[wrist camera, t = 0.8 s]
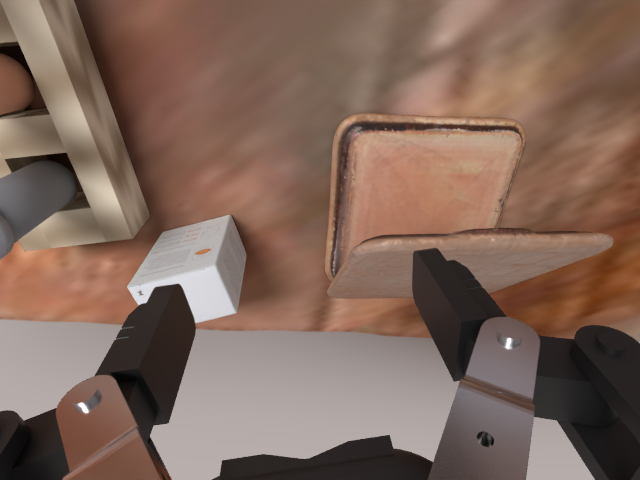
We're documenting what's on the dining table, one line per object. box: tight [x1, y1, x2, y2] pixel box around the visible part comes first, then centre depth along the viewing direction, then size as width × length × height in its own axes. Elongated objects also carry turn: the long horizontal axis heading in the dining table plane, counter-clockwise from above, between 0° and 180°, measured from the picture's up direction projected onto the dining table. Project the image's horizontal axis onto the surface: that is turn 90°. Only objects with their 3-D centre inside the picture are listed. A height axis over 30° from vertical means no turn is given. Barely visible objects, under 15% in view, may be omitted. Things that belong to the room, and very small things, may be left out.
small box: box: [127, 215, 247, 323], centre depth 35 cm, size 8×6×10 cm
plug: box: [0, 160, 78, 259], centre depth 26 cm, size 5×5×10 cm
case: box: [325, 113, 613, 299], centre depth 34 cm, size 20×21×16 cm
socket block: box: [0, 0, 150, 251], centre depth 28 cm, size 28×10×5 cm, turn 5°
